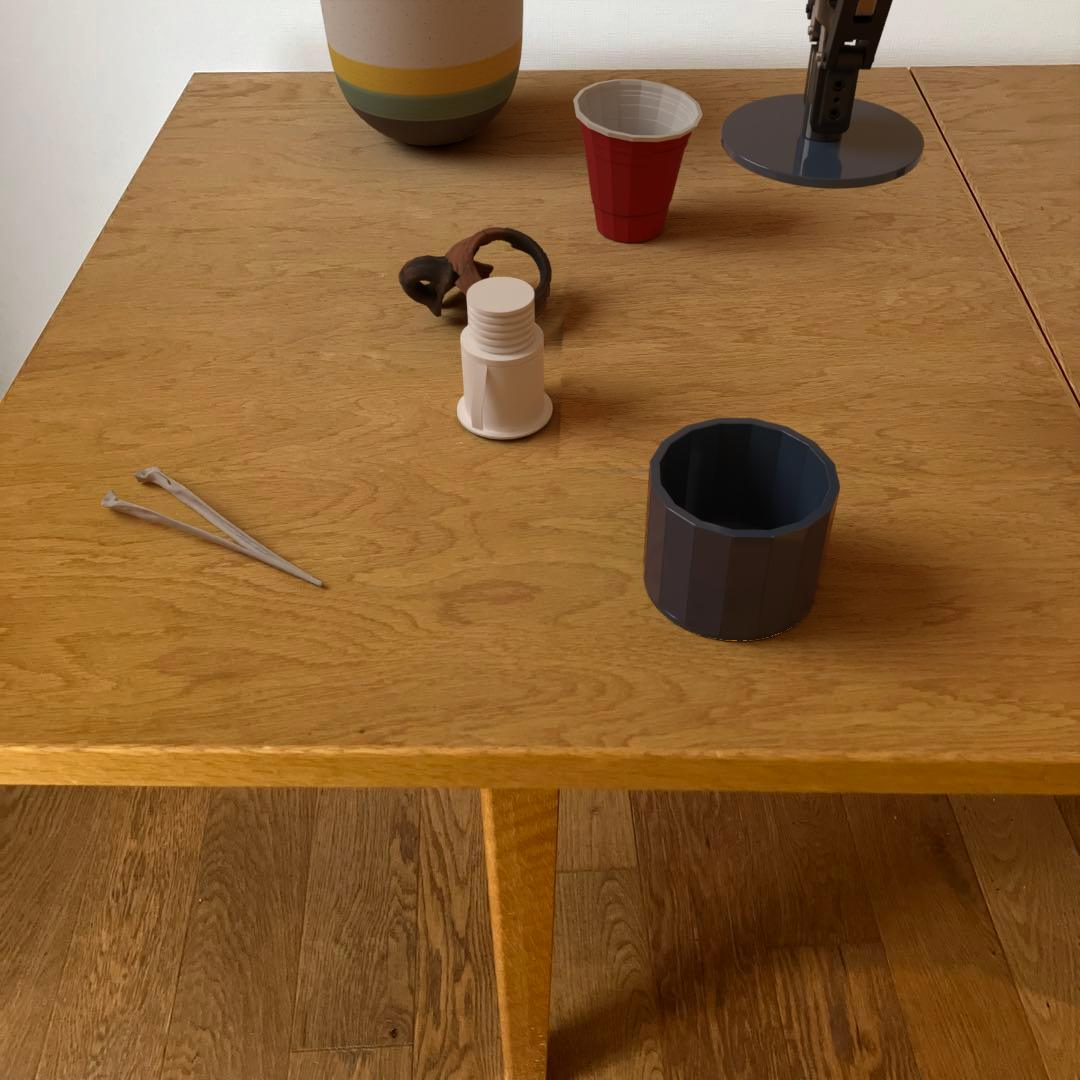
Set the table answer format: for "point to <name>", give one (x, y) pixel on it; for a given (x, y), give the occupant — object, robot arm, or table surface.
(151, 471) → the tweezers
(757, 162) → the lid
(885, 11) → the robot arm
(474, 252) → the brown curved piece
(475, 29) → the planter
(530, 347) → the downlight
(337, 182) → the table surface
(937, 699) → the table surface
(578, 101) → the plastic cup
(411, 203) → the table surface
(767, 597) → the tin
